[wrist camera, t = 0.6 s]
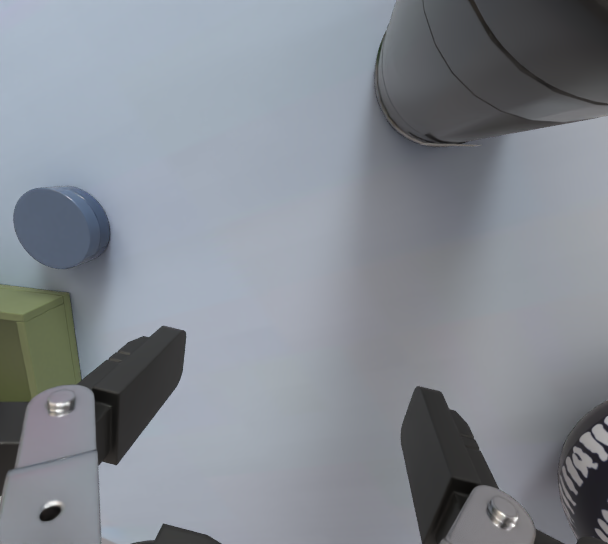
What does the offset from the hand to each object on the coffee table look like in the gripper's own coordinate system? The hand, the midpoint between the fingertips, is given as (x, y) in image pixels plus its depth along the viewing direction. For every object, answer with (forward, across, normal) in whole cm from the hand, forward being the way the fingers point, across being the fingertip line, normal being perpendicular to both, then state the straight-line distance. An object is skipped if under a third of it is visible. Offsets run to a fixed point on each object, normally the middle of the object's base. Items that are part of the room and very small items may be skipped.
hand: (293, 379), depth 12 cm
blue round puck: (+16, +21, +2) cm, 27 cm away
